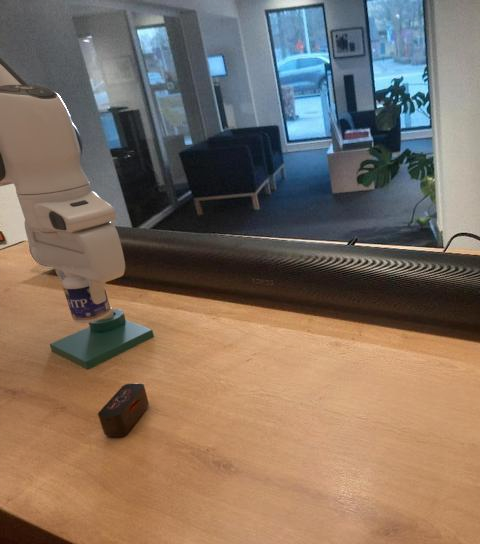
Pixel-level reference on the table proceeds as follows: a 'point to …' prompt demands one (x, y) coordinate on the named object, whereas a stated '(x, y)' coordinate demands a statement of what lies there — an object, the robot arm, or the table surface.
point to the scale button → (109, 315)
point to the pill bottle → (82, 300)
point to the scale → (101, 340)
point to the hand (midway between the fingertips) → (87, 297)
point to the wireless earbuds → (123, 409)
